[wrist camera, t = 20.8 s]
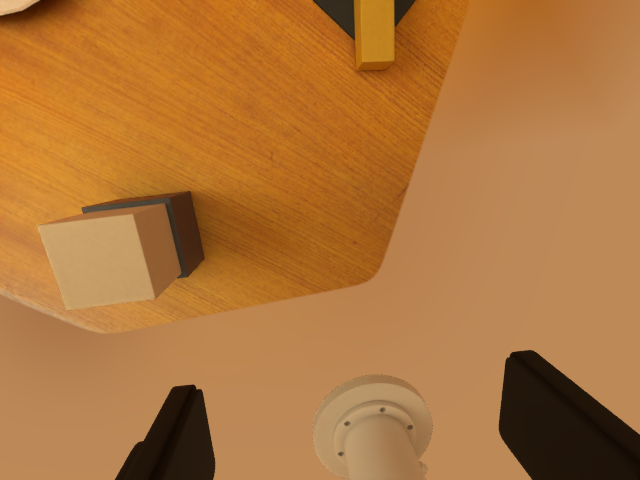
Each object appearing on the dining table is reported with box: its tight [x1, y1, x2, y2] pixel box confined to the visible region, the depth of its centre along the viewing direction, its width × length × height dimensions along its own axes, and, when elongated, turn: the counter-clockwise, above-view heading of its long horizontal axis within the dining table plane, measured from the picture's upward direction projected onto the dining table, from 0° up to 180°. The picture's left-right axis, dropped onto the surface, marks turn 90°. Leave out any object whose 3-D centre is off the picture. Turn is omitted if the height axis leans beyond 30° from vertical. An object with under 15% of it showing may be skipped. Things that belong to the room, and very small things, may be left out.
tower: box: [37, 191, 205, 311], centre depth 30 cm, size 8×8×12 cm
